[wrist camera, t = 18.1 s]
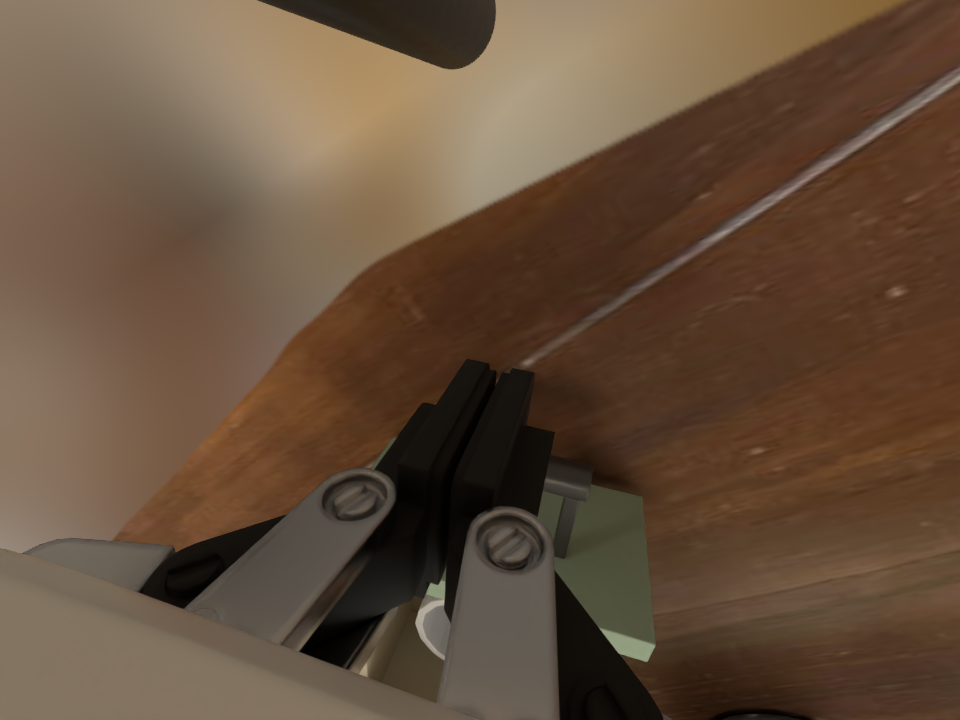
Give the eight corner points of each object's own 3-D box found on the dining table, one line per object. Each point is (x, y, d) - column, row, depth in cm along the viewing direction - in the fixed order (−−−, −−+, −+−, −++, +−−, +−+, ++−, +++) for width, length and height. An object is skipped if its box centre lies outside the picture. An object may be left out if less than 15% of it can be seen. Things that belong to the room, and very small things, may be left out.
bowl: (436, 574, 27) (407, 647, 23) (455, 510, 24) (426, 582, 20) (530, 612, 27) (516, 693, 23) (562, 551, 23) (553, 633, 20)
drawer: (390, 360, 22) (302, 454, 16) (670, 417, 19) (700, 556, 13) (397, 594, 32) (344, 710, 25) (586, 653, 29) (580, 799, 23)
